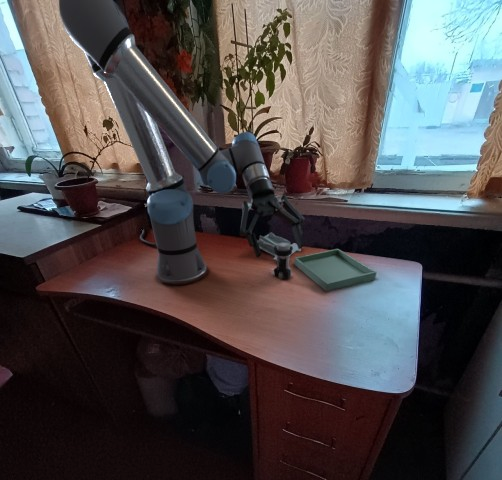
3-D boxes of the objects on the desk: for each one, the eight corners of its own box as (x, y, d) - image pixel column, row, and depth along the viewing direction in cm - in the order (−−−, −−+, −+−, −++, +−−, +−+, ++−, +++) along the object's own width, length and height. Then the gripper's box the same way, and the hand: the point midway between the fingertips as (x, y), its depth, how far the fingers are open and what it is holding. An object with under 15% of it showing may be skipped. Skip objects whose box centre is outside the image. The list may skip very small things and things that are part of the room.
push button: (266, 277, 94) (266, 245, 87) (275, 270, 97) (275, 239, 91) (286, 282, 91) (287, 249, 85) (294, 274, 94) (296, 242, 88)
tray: (294, 264, 100) (294, 257, 99) (337, 255, 104) (338, 248, 103) (326, 291, 86) (327, 283, 84) (374, 279, 90) (376, 272, 88)
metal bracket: (248, 240, 102) (271, 226, 112) (245, 255, 106) (267, 240, 116) (285, 259, 99) (305, 243, 108) (280, 274, 103) (300, 257, 112)
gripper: (291, 187, 99) (312, 248, 97) (217, 199, 93) (238, 265, 90) (300, 171, 92) (323, 237, 90) (220, 183, 85) (243, 254, 83)
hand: (280, 251), depth 90 cm, fingers open, 13 cm apart
